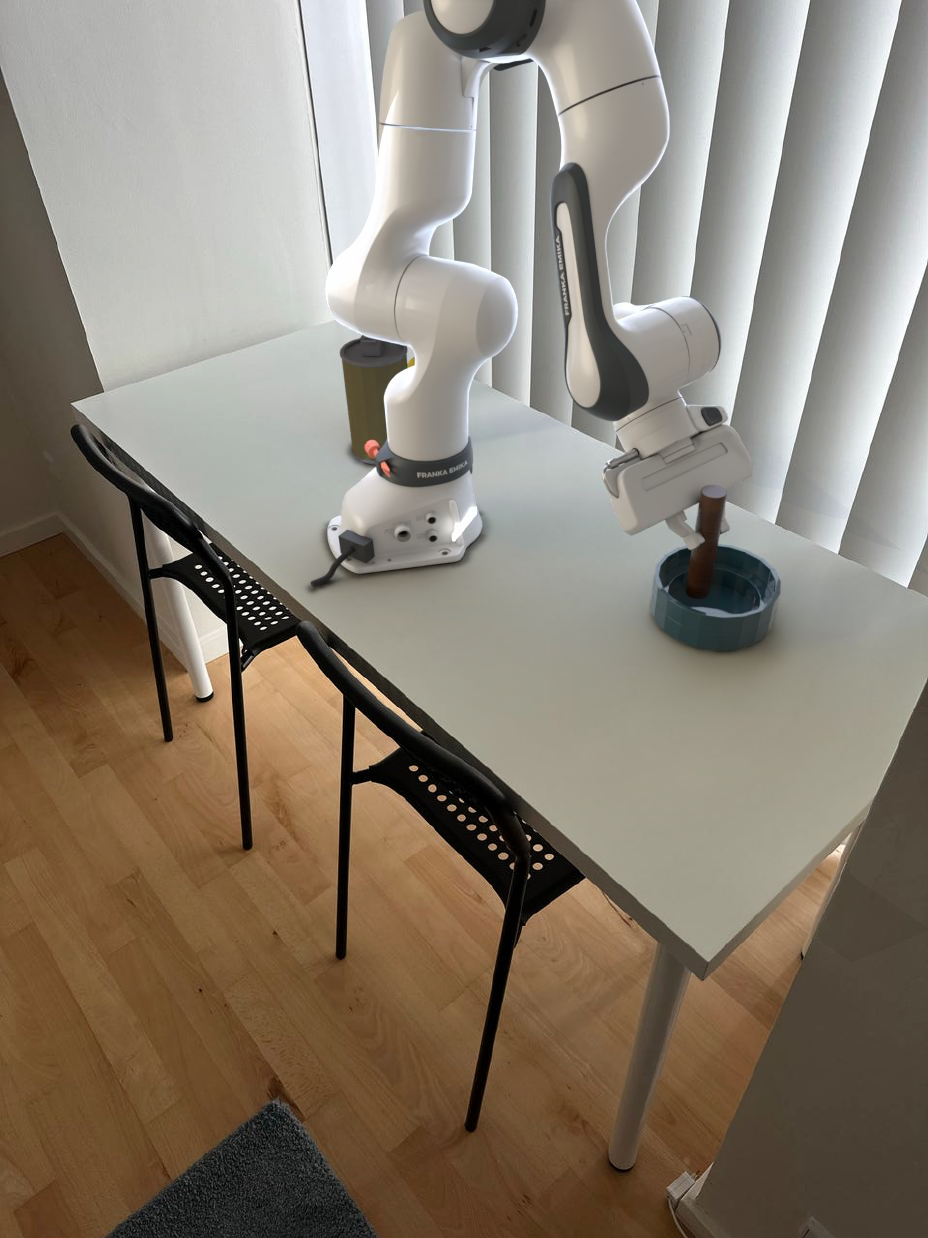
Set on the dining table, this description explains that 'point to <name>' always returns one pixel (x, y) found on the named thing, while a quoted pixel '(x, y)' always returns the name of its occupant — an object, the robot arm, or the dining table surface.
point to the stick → (706, 541)
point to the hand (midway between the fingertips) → (710, 540)
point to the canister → (369, 388)
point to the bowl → (717, 599)
